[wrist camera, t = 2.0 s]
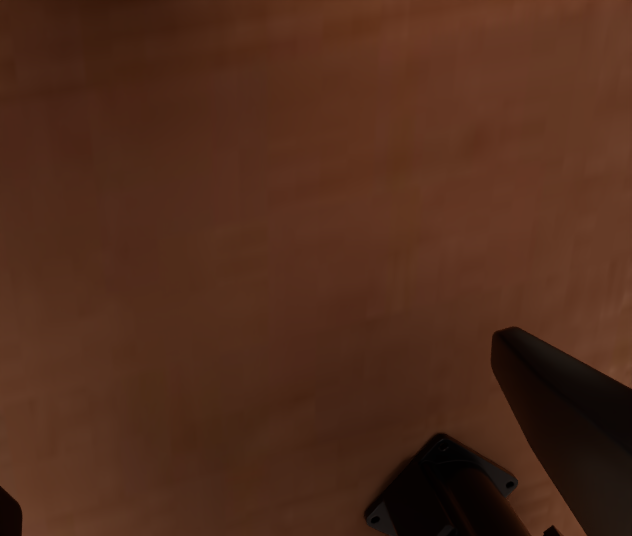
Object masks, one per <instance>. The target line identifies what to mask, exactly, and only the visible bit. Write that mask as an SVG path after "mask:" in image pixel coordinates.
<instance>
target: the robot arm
mask: <svg viewBox="0 0 632 536" xmlns="http://www.w3.org/2000/svg"><path fill="white" fill-rule="evenodd" d="M491 367H492V370H493V373H494V375H495V377H496V379H497V381H498V383H499V385H500V387H501V389H502V391H503V393H504V395H505V397H506V399H507V401H508V403H509V405H510V407H511V409H512V411H513V413H514V415H515V417H516V419H517V421H518V423H519V425H520V427H521V429H522V431H523V433H524V435H525V437H526V439H527V441H528V443H529V445H530V446H531V448H532V450H533V452H534V453H535V455H536V456H537V458H538V460H539V461H540V463H541V464H542V466H543V468H544V469H545V471H546V472H547V474H548V475H549V477H550V478H551V480H552V482H553V483H554V485H555V486H556V488H557V489H558V491H559V492H560V494H561V496H562V497H563V499H564V500H565V502H566V503H567V505H568V506H569V508H570V510H571V511H572V513H573V514H574V516H575V517H576V519H577V520H578V522H579V524H580V525H581V527H582V528H583V530H584V531H585V533H586V534H587V536H632V389H631V388H629V387H627V386H625V385H623V384H622V383H620V382H618V381H616V380H614V379H612V378H611V377H609V376H607V375H605V374H603V373H601V372H600V371H598V370H596V369H594V368H592V367H590V366H588V365H587V364H585V363H583V362H581V361H579V360H577V359H576V358H574V357H572V356H570V355H568V354H566V353H565V352H563V351H561V350H559V349H557V348H555V347H554V346H552V345H550V344H548V343H546V342H544V341H543V340H541V339H539V338H537V337H535V336H533V335H532V334H530V333H528V332H526V331H524V330H522V329H520V328H518V327H508V328H505V329H502V330H498V331H496V332H494V334H493V336H492V348H491ZM442 443H443V444H442ZM441 444H442V445H441ZM517 484H518V480H517V479H516V478H515V476H514V475H513V474H512V473H511V472H509V471H507V470H506V469H504V468H502V467H501V466H499V465H497V464H495V463H494V462H492V461H490V460H489V459H487V458H485V457H484V456H482V455H480V454H479V453H477V452H475V451H474V450H472V449H470V448H468V447H467V446H465V445H463V444H462V443H460V442H458V441H457V440H455V439H453V438H452V437H450V436H448V435H446V434H439V435H437V436H435V437H434V438H433V439H432V440H431V441H430V442H429V443H428V445H427V446H426V447H425V448H424V449H423V450H422V451H421V452H420V453H419V454H418V455H417V456H416V458H415V459H414V460H413V461H412V462H411V463H410V464H409V465H408V466H407V467H406V468H405V469H404V471H403V472H402V473H401V474H400V475H399V476H398V477H397V478H396V479H395V480H394V481H393V482H392V484H391V485H390V486H389V487H388V488H387V489H386V490H385V491H384V492H383V493H382V494H381V495H380V497H379V498H378V499H377V500H376V501H375V502H374V503H373V504H372V505H371V506H370V507H369V508H368V510H367V511H366V512H365V515H364V517H365V520H366V522H367V525H369V526H370V527H372V528H375V529H377V530H379V531H381V532H383V533H386V534H388V535H390V536H531V535H530V533H529V532H528V530H527V529H526V527H525V526H524V524H523V523H522V522H521V520H520V519H519V517H518V516H517V514H516V513H515V511H514V510H513V509H512V507H511V506H510V504H509V503H508V501H507V500H506V497H507V496H508V495H509V494H510V493H511V492H512V491H513V490H514V489H515V488H516V486H517ZM543 533H544V535H543V536H563V535H562V534H561V533H560V532H559V531H558V530H557V529H556V527H555V526H554V525H552V526H551V527H550V528H548V529H547V530H546V531H544V532H543ZM0 536H22V510H21V507H20V505H19V503H18V502H17V501H16V500H15V499H14V498H13V497H12V496H10V495H9V494H8V493H7V492H6V491H5V490H4V489H3V488H2V487H1V486H0Z"/></svg>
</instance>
